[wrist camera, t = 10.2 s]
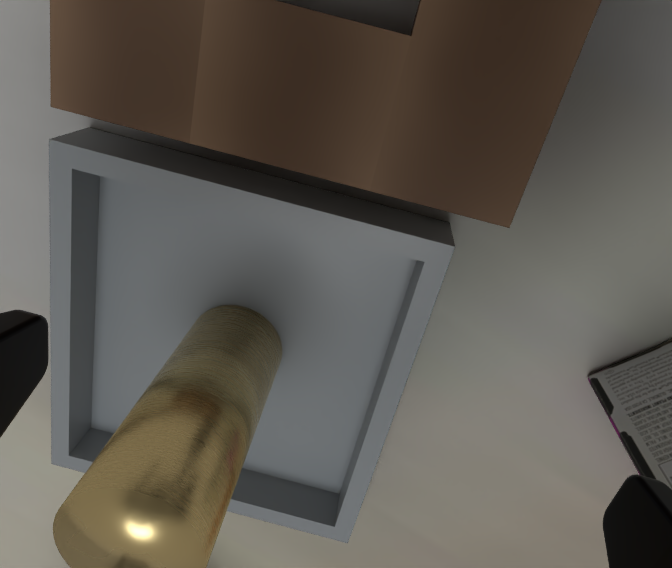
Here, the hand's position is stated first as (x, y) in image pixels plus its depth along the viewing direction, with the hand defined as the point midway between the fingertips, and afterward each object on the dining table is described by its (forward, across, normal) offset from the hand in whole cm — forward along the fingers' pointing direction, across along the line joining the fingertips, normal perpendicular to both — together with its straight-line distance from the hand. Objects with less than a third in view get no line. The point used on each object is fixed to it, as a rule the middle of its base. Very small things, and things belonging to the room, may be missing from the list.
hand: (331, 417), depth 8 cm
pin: (+12, +4, +8) cm, 15 cm away
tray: (+13, +4, +8) cm, 16 cm away
